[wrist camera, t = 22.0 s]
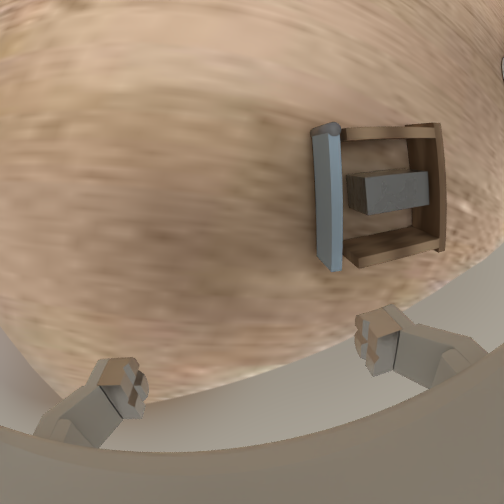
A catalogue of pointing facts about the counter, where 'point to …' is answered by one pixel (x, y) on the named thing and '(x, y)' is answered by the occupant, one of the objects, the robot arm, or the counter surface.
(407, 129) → the wooden u-shaped block
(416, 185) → the dark gray rectangular block
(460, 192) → the counter surface
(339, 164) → the rounded end plank
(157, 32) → the counter surface
